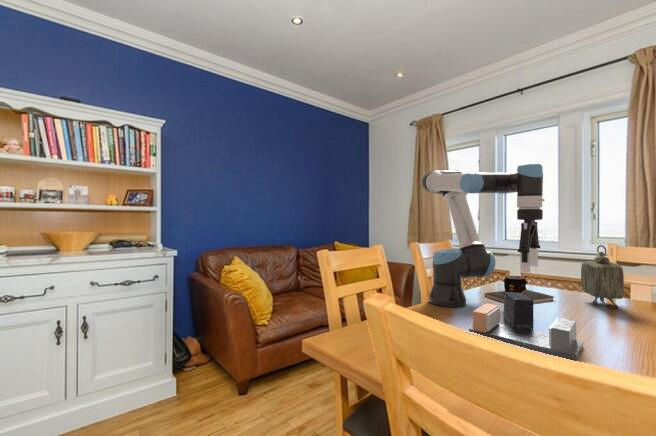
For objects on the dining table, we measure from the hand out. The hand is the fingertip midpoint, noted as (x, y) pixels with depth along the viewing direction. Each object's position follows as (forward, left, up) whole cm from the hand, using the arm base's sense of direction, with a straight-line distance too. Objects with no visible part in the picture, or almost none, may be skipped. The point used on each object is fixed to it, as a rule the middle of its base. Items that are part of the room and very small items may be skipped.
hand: (529, 269), depth 111 cm
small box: (-3, -4, -20) cm, 20 cm away
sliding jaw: (-9, -17, -18) cm, 26 cm away
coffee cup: (-9, +16, -20) cm, 27 cm away
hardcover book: (-12, +34, -20) cm, 42 cm away
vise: (+2, -17, -20) cm, 26 cm away
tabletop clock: (+15, +46, -20) cm, 53 cm away
